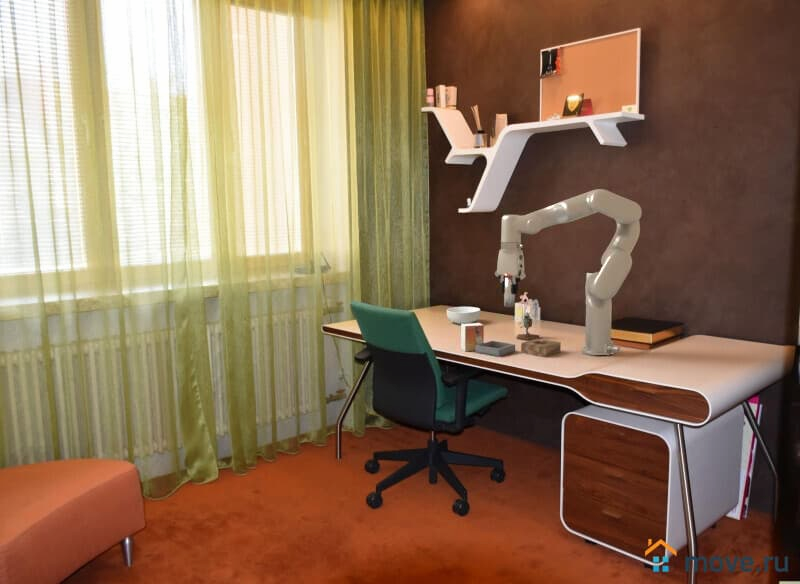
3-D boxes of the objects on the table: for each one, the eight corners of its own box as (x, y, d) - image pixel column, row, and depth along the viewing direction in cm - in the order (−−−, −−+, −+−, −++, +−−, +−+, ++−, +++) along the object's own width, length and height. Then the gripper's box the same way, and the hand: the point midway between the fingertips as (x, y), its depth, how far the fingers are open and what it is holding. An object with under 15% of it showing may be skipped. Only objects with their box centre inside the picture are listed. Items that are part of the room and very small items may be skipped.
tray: (515, 351, 260) (515, 344, 259) (498, 356, 252) (498, 349, 251) (492, 347, 267) (492, 340, 267) (475, 352, 259) (475, 345, 259)
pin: (518, 306, 256) (519, 273, 255) (510, 307, 253) (511, 274, 251) (507, 304, 260) (508, 272, 258) (499, 306, 256) (500, 273, 254)
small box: (464, 351, 261) (464, 326, 260) (460, 348, 267) (460, 323, 265) (483, 350, 263) (483, 324, 262) (479, 347, 268) (479, 322, 267)
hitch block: (560, 352, 258) (560, 342, 257) (545, 357, 250) (545, 346, 249) (536, 348, 265) (536, 338, 265) (521, 352, 257) (521, 343, 257)
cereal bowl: (444, 320, 330) (444, 306, 329) (477, 319, 331) (477, 306, 330) (449, 327, 314) (449, 312, 313) (483, 326, 315) (483, 311, 314)
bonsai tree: (518, 335, 291) (518, 308, 290) (539, 336, 289) (540, 309, 287) (515, 340, 281) (516, 313, 279) (537, 341, 278) (538, 313, 277)
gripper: (534, 247, 250) (533, 294, 253) (498, 245, 262) (497, 290, 264) (523, 248, 245) (522, 296, 247) (487, 246, 256) (486, 292, 259)
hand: (509, 292), depth 256 cm, fingers closed on pin, 4 cm apart
